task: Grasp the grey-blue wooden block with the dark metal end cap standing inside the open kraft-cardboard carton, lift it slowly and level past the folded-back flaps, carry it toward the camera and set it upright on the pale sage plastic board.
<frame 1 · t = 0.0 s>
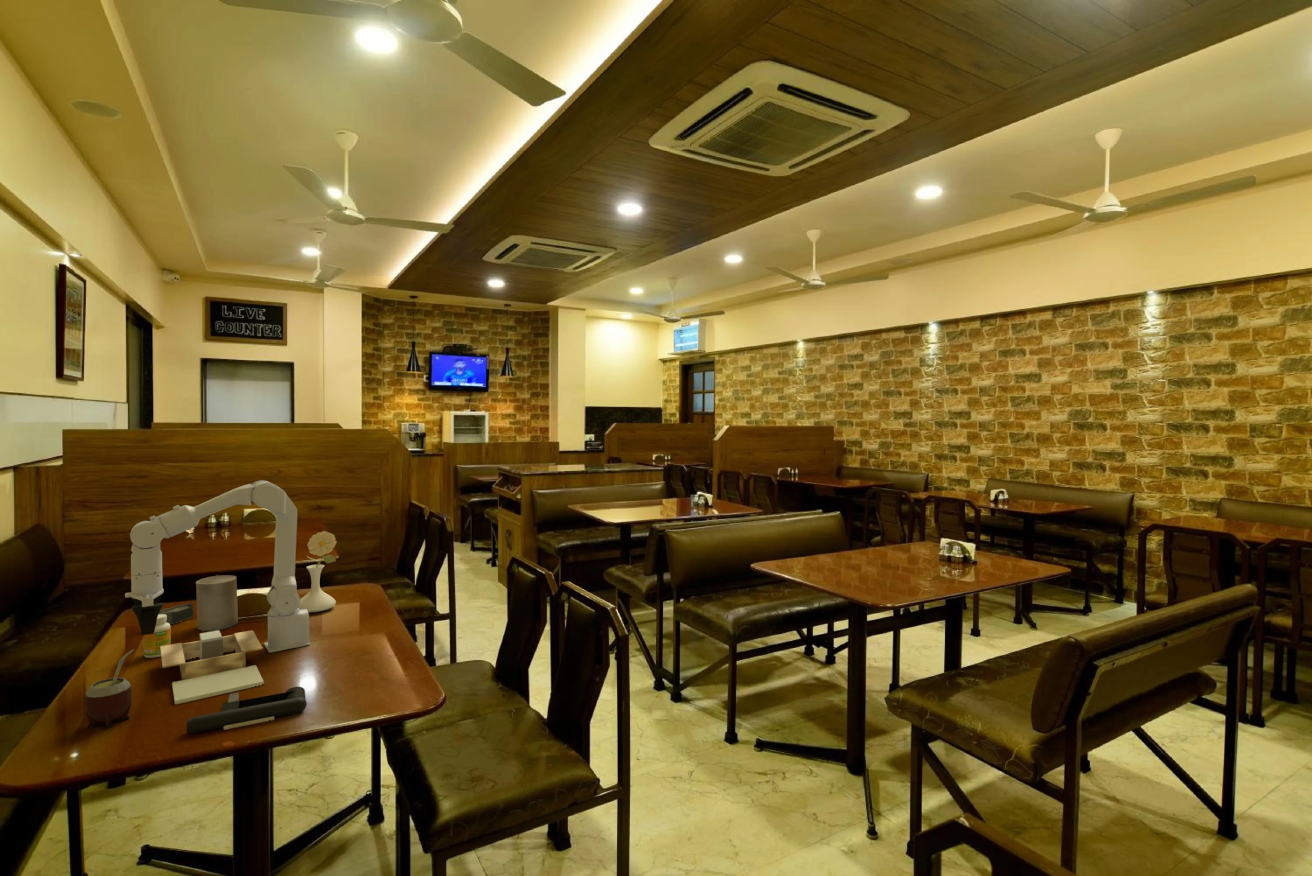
hand: (147, 629, 149), 10 cm above the table, tool pointing down, fingers open, 7 cm apart
flower in vase: (318, 610, 199), on the table
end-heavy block: (211, 650, 154), in the carton
dark grey stapler: (169, 626, 184), on the table
pillar candle: (217, 626, 183), on the table
sage board: (218, 685, 143), on the table
carton: (211, 664, 154), on the table
mate gourd: (111, 723, 125), on the table
supplement bottle: (157, 655, 161), on the table
door handle: (250, 713, 130), on the table
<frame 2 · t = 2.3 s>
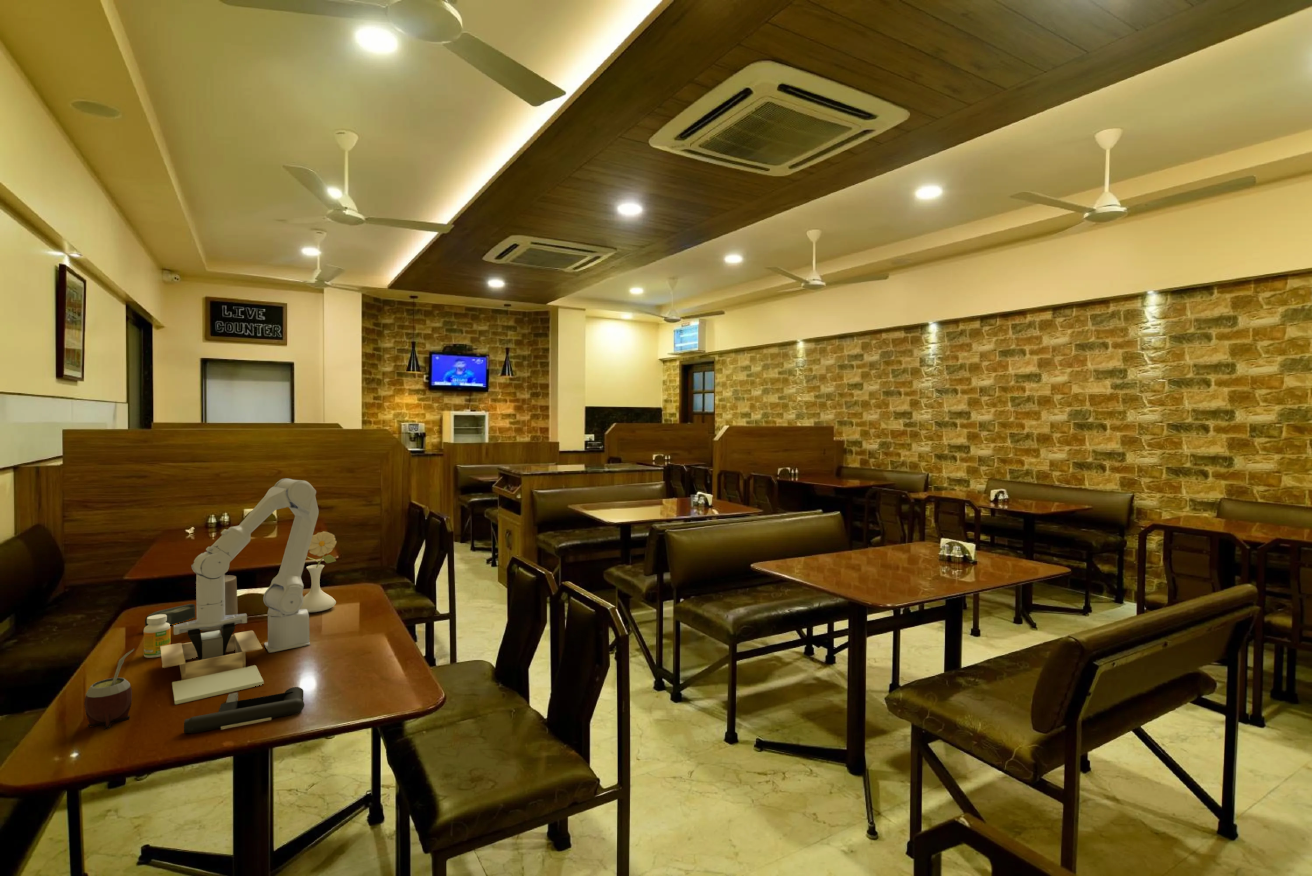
hand: (211, 657, 154), 2 cm above the table, tool pointing down, fingers closed on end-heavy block, 4 cm apart
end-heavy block: (211, 650, 154), in the carton, touching gripper
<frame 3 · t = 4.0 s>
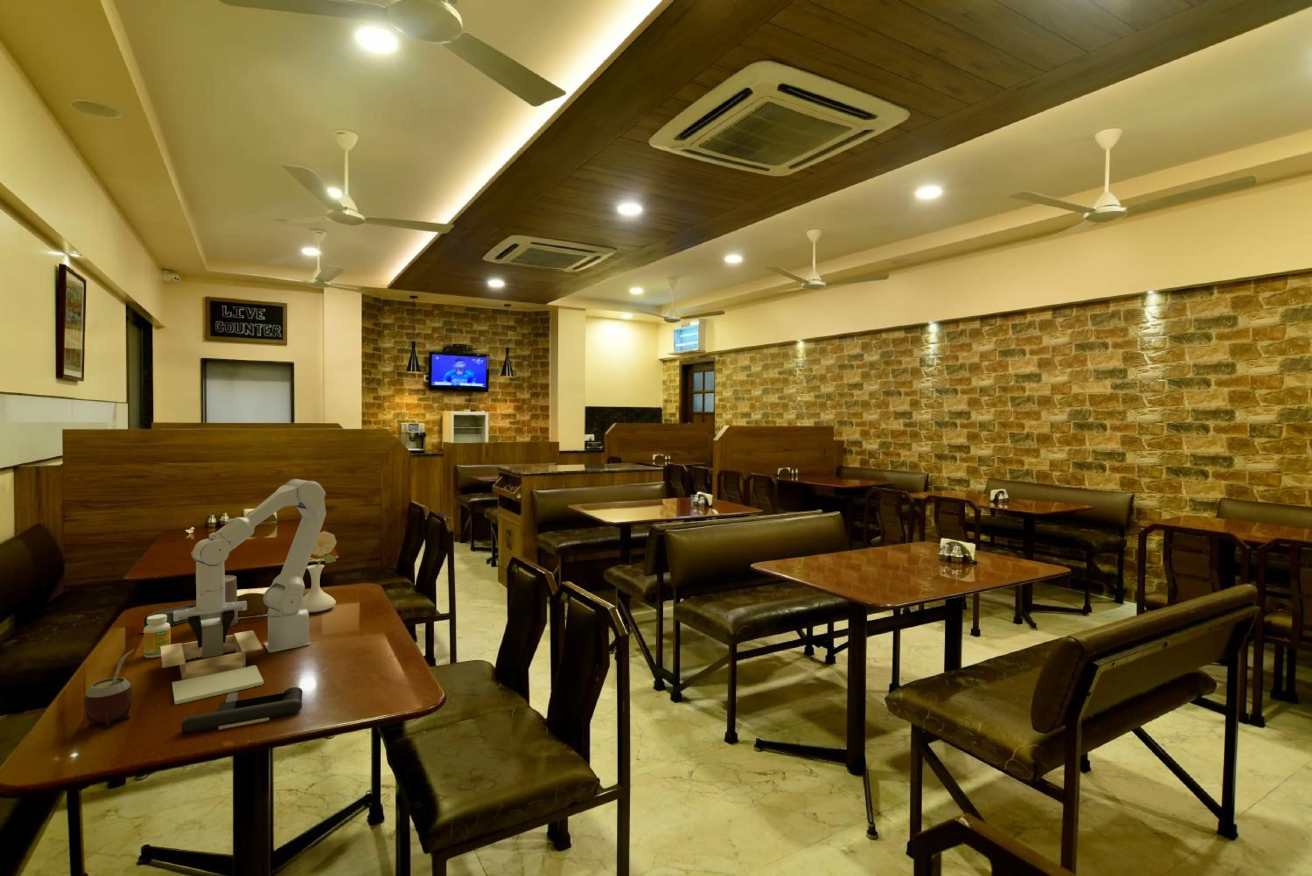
hand: (211, 644, 154), 5 cm above the table, tool pointing down, fingers closed on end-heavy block, 4 cm apart
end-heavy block: (211, 637, 154), point 7 cm above the table, touching gripper
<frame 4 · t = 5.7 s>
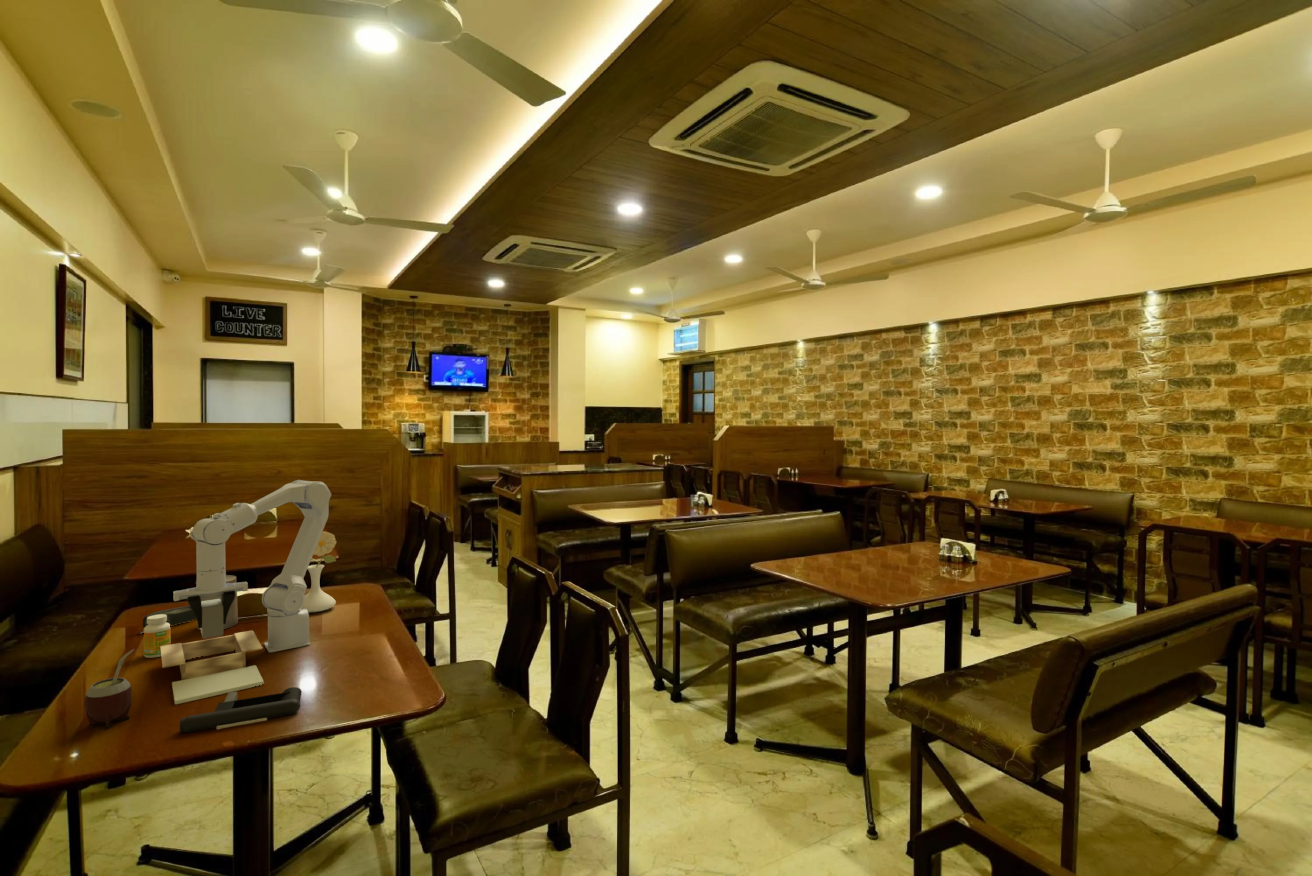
hand: (211, 625, 152), 10 cm above the table, tool pointing down, fingers closed on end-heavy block, 4 cm apart
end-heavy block: (211, 618, 152), point 12 cm above the table, touching gripper
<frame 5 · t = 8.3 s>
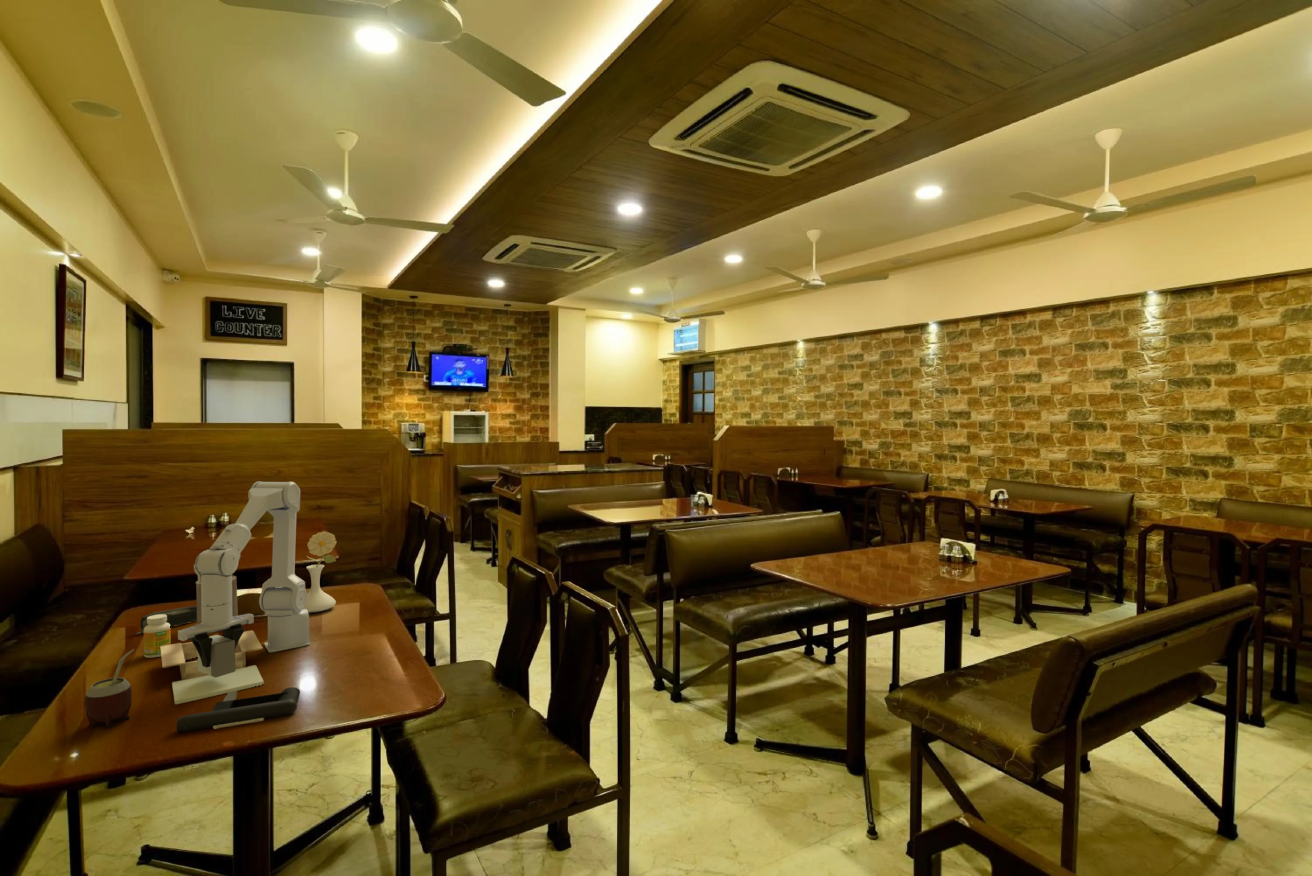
hand: (217, 662, 142), 5 cm above the table, tool pointing down, fingers closed on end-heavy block, 4 cm apart
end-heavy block: (216, 655, 143), point 7 cm above the table, touching gripper
when the fingers open (4 cm above the table, at t = 9.4 s): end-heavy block drops 1 cm, resting on sage board.
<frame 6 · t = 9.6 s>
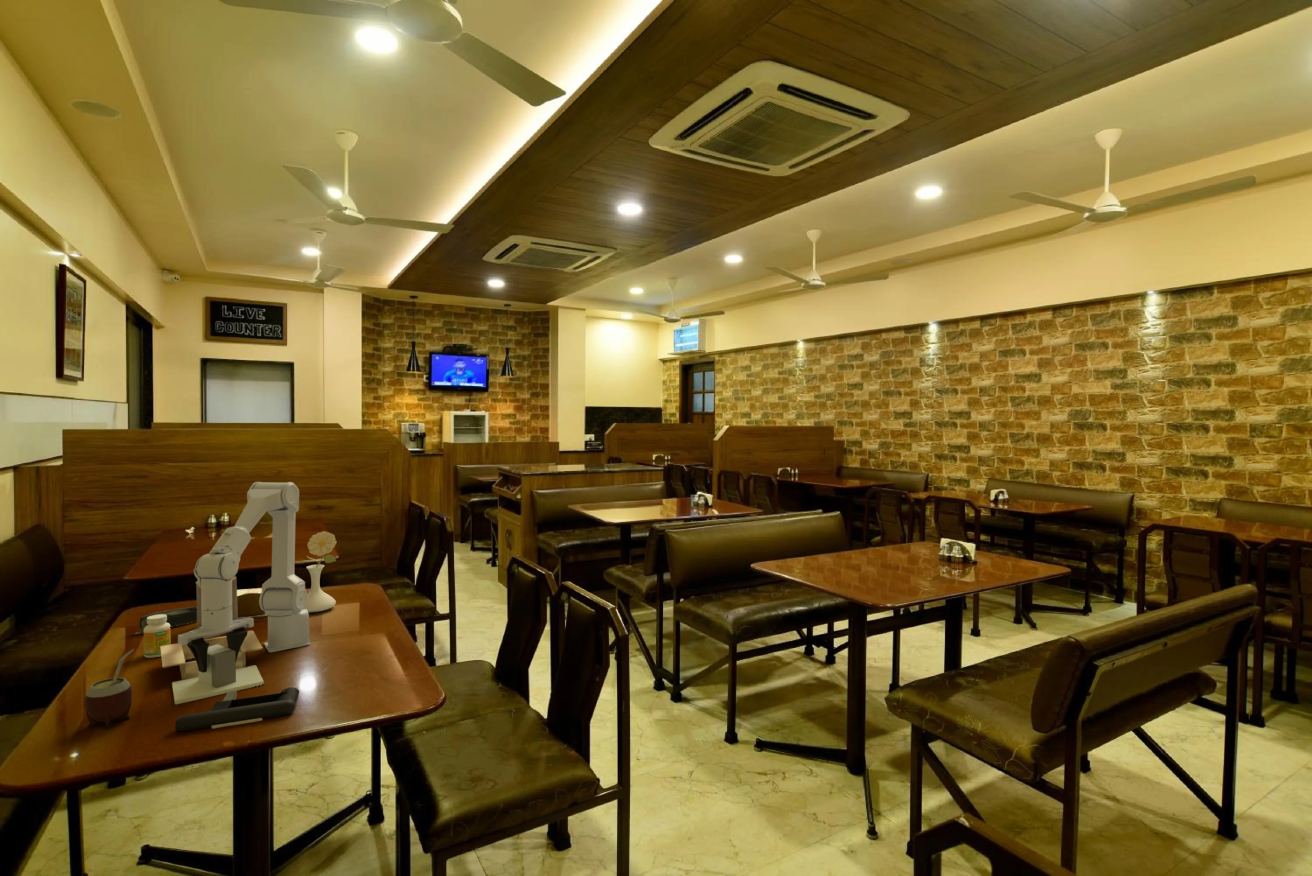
hand: (217, 666, 142), 4 cm above the table, tool pointing down, fingers open, 5 cm apart
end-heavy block: (216, 665, 143), on the sage board, point 4 cm above the table
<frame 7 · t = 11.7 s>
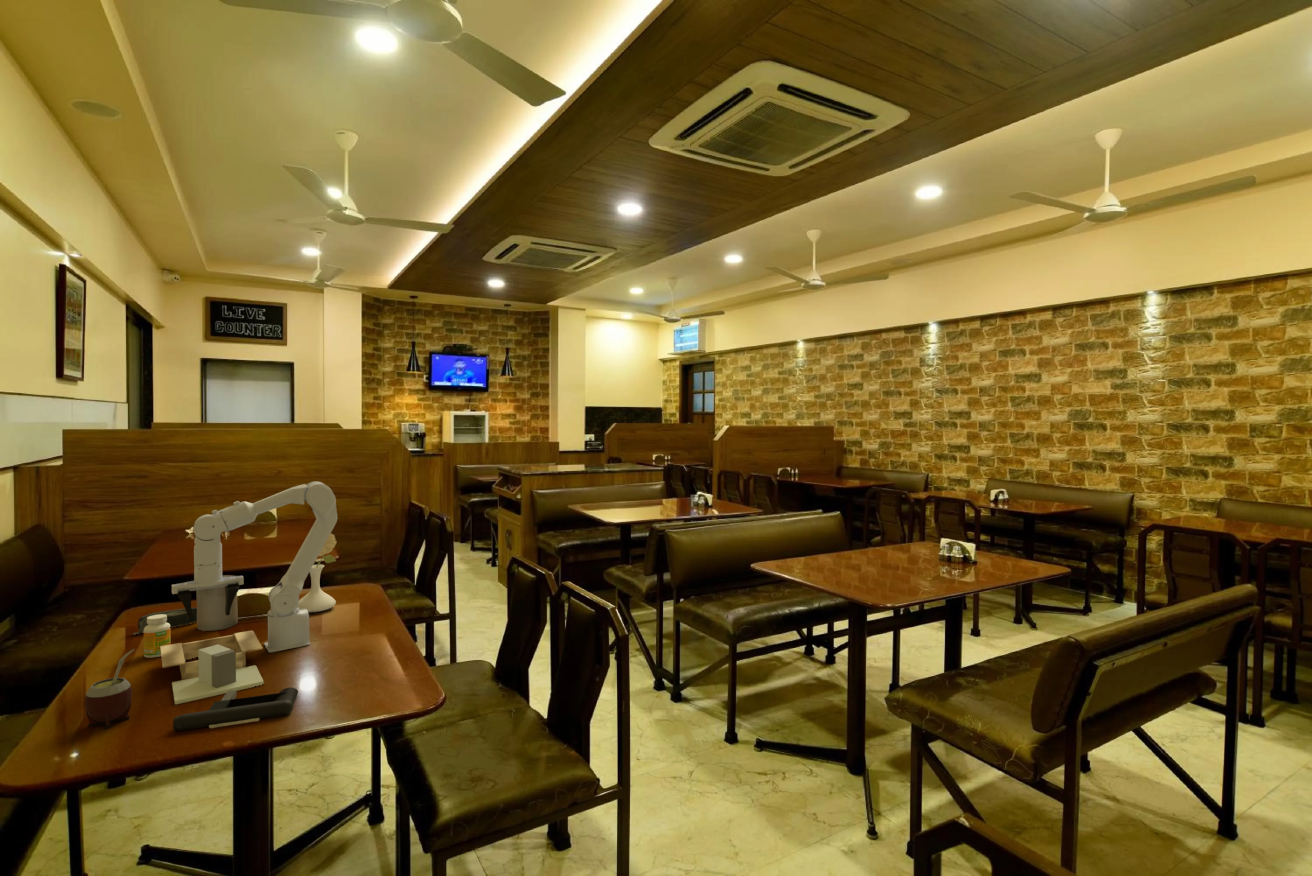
hand: (209, 617, 158), 10 cm above the table, tool pointing down, fingers open, 7 cm apart
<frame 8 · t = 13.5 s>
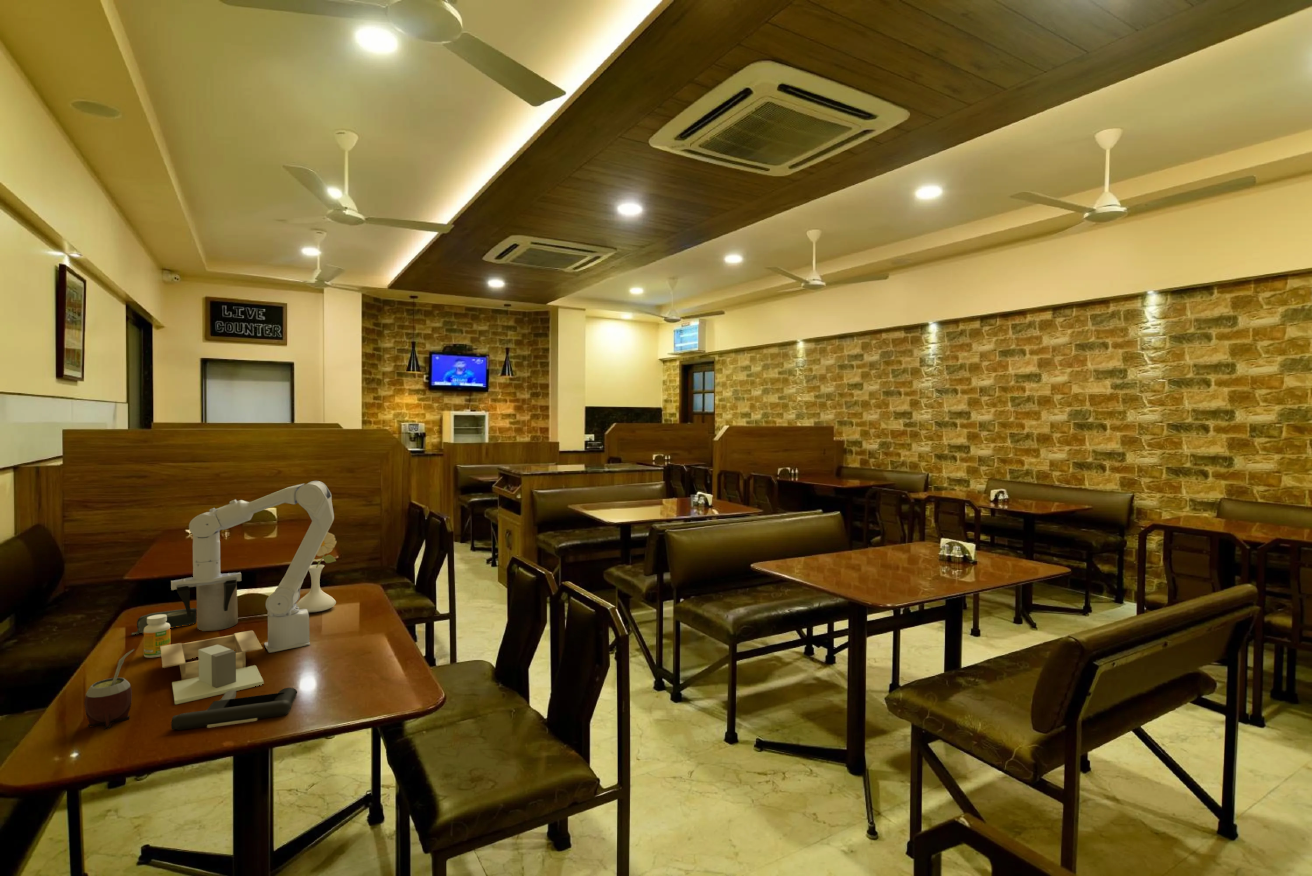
hand: (207, 612, 162), 10 cm above the table, tool pointing down, fingers open, 7 cm apart
at the end: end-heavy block inside the target area on the sage board (0.6 cm from its centre), point 4.3 cm above the sage board's base; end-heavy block tilted 0°; the gripper is holding nothing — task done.
